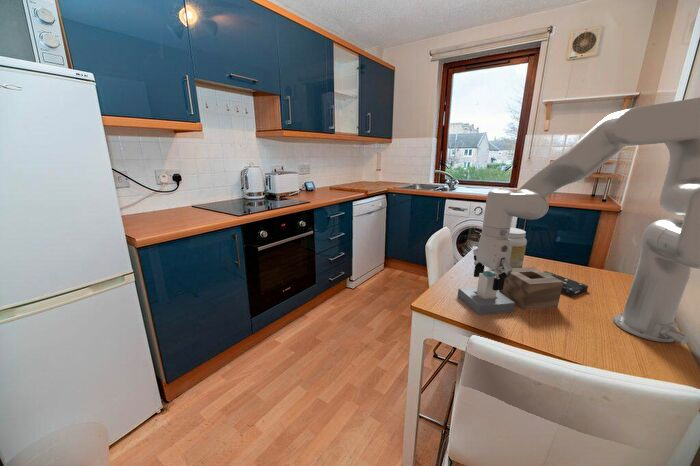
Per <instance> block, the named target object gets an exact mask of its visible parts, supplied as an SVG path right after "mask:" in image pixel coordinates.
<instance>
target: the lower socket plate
mask: <svg viewBox="0 0 700 466" xmlns="http://www.w3.org/2000/svg"><path fill="white" fill-rule="evenodd" d="M477 287H478V286H466V287H458V289H457V297H458V298H459V299H460V300H461V301H462V302H464V303H465V304H466V305H467V306H468V308H471V309H472V310H473V311H474V312H475V313H476V314H477V315H478V316H480V315H489V314H490V315H491V314H500V313H512V312H515V305H516V304H515V302H513V301H512V300H510V299H509V298H507V297H506V296H504V295H503V294H502V293H500V292H499V290H497V292H496V298H495V299H486V300H483V299H482V298H480V297H479V296H478V295H477Z"/></svg>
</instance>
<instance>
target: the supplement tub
mask: <svg viewBox="0 0 700 466" xmlns="http://www.w3.org/2000/svg"><path fill="white" fill-rule="evenodd" d="M526 233H527V231H525V230H524V229H521V228H515V227H511V228H510V235H509V239H510V244H511V251H510V262H509V265H510V266H511V268H523V265H524V264H523V263H524V259H525V254H526V248H527V243H528V240H527V239H526V236H527V235H526ZM497 268H500V267H497Z"/></svg>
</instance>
